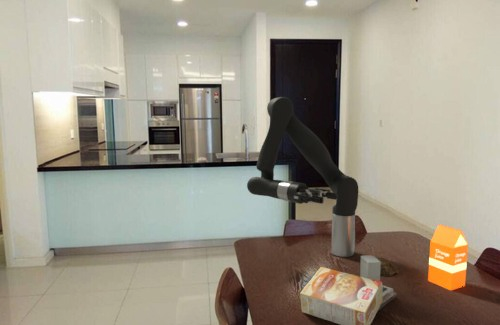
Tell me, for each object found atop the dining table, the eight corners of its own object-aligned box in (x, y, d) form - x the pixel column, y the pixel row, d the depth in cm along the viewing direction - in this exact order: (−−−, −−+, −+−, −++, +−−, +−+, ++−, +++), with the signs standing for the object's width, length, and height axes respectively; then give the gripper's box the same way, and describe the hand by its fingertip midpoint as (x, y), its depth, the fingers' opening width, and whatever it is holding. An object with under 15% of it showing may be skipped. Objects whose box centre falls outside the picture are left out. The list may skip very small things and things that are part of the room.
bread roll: (356, 270, 144) (357, 257, 143) (371, 261, 153) (372, 249, 152) (390, 280, 135) (390, 266, 134) (403, 270, 144) (404, 257, 143)
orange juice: (450, 290, 126) (454, 232, 124) (427, 280, 134) (430, 225, 131) (465, 285, 130) (469, 229, 127) (442, 276, 137) (445, 222, 135)
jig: (359, 284, 131) (359, 275, 131) (396, 296, 122) (396, 287, 121) (337, 297, 121) (337, 288, 121) (375, 312, 112) (376, 302, 112)
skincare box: (359, 290, 123) (360, 255, 122) (371, 290, 124) (373, 254, 122) (366, 299, 117) (368, 262, 116) (379, 298, 118) (381, 261, 116)
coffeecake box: (320, 265, 122) (382, 281, 111) (322, 284, 124) (383, 301, 113) (299, 292, 110) (365, 312, 99) (301, 312, 112) (366, 334, 101)
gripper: (279, 184, 134) (318, 190, 123) (304, 179, 144) (341, 184, 133) (279, 205, 135) (317, 213, 124) (304, 198, 145) (341, 205, 134)
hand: (330, 198), depth 128 cm, fingers open, 8 cm apart
